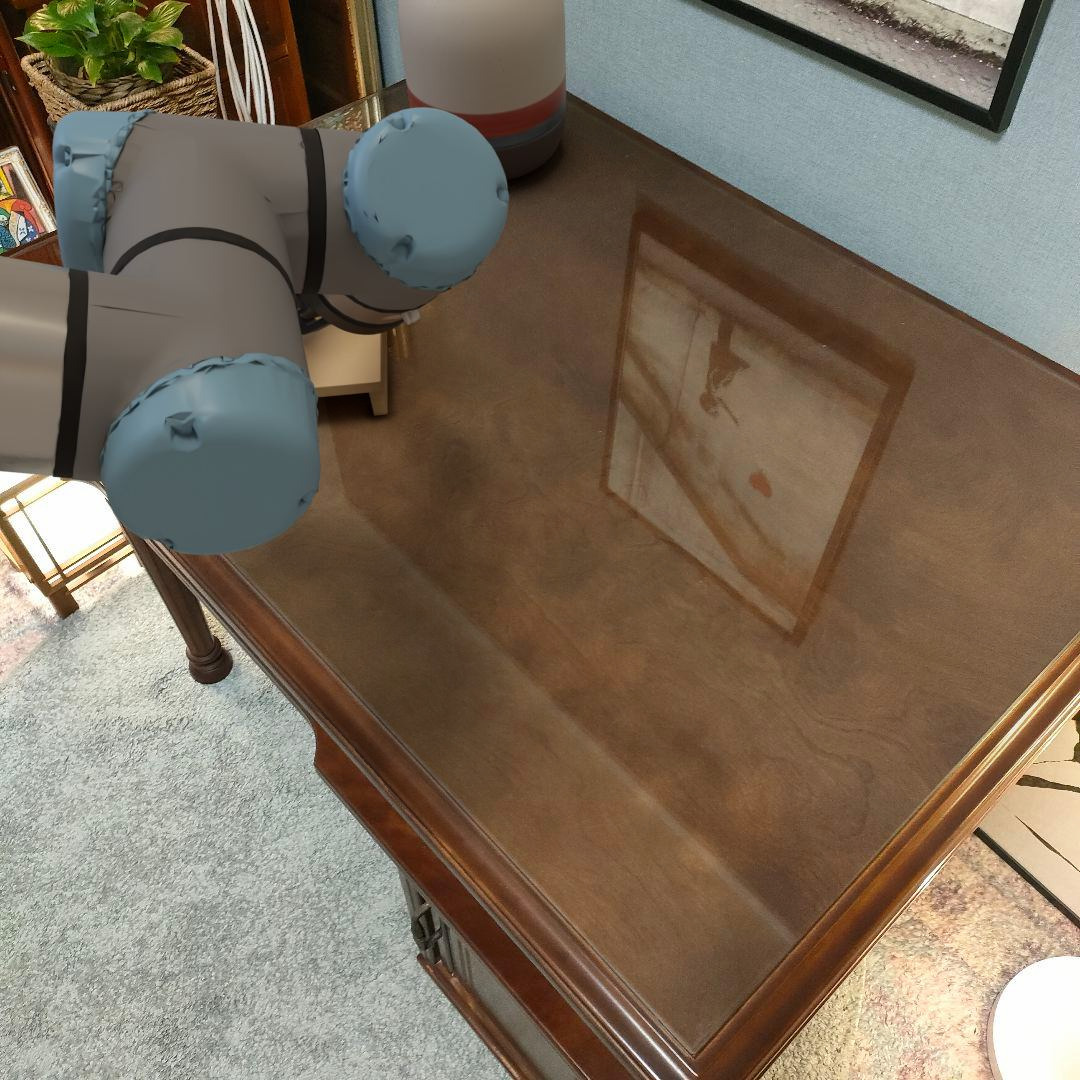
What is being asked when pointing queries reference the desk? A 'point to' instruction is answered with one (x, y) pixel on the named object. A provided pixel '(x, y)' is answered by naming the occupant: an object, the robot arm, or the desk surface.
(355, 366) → the shelf
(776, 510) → the desk surface
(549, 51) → the vase
